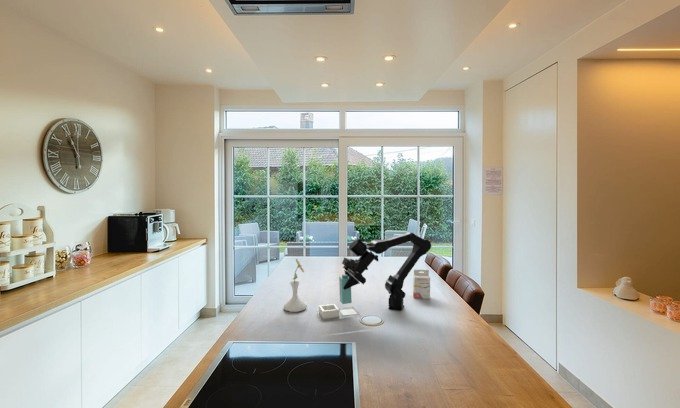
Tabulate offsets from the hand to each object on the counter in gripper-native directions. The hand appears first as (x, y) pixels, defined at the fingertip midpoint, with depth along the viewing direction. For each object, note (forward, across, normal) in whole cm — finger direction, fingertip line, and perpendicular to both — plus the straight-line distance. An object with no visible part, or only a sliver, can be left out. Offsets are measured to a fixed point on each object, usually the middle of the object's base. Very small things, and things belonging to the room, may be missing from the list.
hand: (342, 287), depth 162 cm
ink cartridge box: (-23, -10, +44) cm, 51 cm away
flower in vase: (+24, -13, -6) cm, 28 cm away
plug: (+4, 0, +6) cm, 7 cm away
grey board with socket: (+11, 0, +7) cm, 13 cm away
